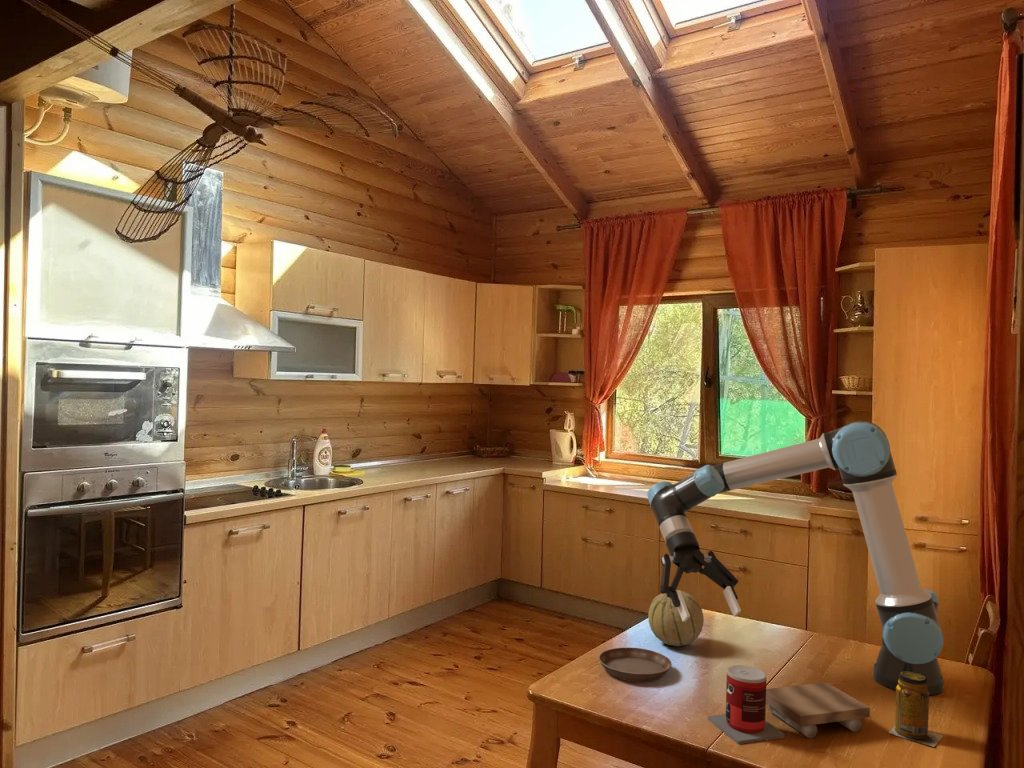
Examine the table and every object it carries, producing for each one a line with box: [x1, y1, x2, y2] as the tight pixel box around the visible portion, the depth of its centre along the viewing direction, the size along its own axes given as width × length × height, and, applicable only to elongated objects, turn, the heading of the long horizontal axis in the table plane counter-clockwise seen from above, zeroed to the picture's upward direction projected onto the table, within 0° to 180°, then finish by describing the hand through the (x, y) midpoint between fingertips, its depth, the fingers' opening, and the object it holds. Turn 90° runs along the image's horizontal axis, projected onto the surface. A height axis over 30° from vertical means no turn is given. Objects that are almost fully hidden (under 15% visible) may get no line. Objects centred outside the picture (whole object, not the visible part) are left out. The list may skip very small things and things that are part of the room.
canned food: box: [725, 664, 767, 733], centre depth 153 cm, size 8×8×11 cm
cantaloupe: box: [647, 589, 704, 647], centre depth 201 cm, size 15×15×15 cm
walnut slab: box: [766, 682, 871, 739], centre depth 157 cm, size 17×13×5 cm
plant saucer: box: [598, 647, 673, 683], centre depth 182 cm, size 18×18×3 cm
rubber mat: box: [707, 713, 786, 745], centre depth 153 cm, size 11×11×1 cm
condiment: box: [887, 672, 944, 748], centre depth 152 cm, size 7×8×12 cm
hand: (712, 616), depth 171 cm, fingers open, 13 cm apart
